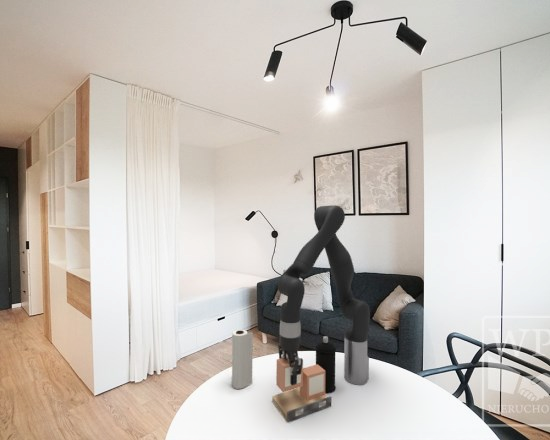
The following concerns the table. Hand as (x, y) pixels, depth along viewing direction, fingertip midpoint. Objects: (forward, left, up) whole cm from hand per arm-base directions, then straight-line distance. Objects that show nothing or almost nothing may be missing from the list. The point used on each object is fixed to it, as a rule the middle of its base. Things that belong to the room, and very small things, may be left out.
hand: (289, 379), depth 98 cm
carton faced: (-10, 0, -7) cm, 12 cm away
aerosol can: (-19, -4, -10) cm, 21 cm away
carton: (0, 0, -2) cm, 2 cm away
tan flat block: (-5, 0, -9) cm, 11 cm away
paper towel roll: (+11, -20, -10) cm, 25 cm away
